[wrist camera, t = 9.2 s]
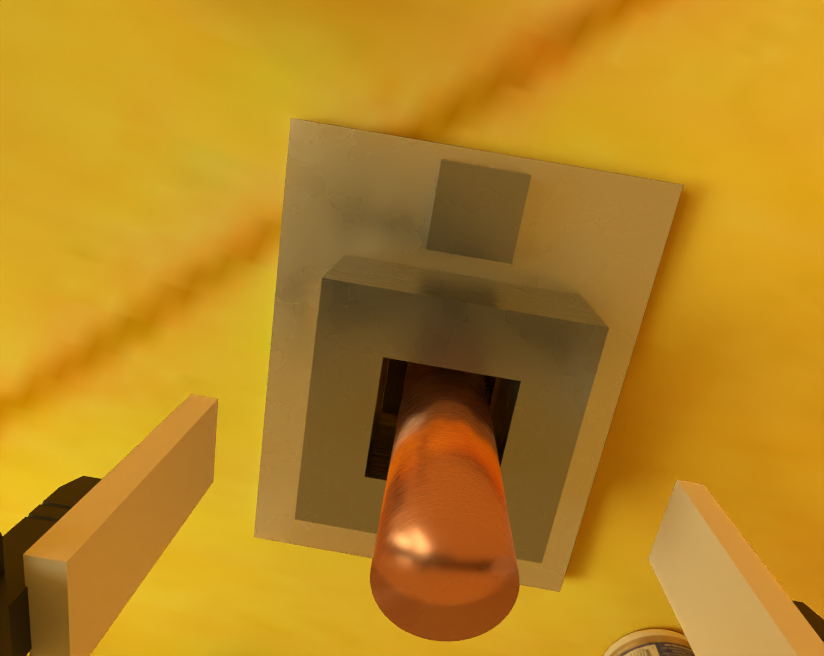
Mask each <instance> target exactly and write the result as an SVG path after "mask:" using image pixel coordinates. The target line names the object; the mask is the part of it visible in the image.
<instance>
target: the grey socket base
mask: <svg viewBox="0 0 824 656" xmlns="http://www.w3.org/2000/svg"><path fill="white" fill-rule="evenodd" d="M682 188H683V185H682V184H676V183H670V182H664V181H658V180H652V179H646V178H640V177H635V176H629V175H623V174H617V173H611V172H605V171H599V170H593V169H588V168H582V167H576V166H570V165H564V164H558V163H552V162H546V161H540V160H535V159H529V158H523V157H517V156H511V155H505V154H499V153H493V152H488V151H482V150H476V149H470V148H464V147H458V146H452V145H446V144H440V143H435V142H429V141H423V140H417V139H411V138H405V137H399V136H393V135H387V134H382V133H376V132H370V131H364V130H358V129H352V128H346V127H340V126H335V125H329V124H323V123H317V122H311V121H305V120H299V119H293V118H291V123H290V134H289V145H288V157H287V168H286V179H285V191H284V202H283V213H282V225H281V236H280V248H279V259H278V270H277V282H276V293H275V304H274V316H273V327H272V338H271V350H270V361H269V372H268V384H267V395H266V406H265V418H264V429H263V440H262V452H261V463H260V474H259V486H258V497H257V508H256V520H255V531H254V537H256V538H262V539H267V540H273V541H279V542H284V543H290V544H295V545H301V546H307V547H312V548H318V549H323V550H329V551H335V552H340V553H346V554H351V555H357V556H362V557H368V558H373V555H374V549H375V543H376V538H377V532H378V526H379V521H380V515H381V510H382V504H383V498H384V493H385V487H386V482H387V476H388V470H389V465H390V459H391V454H392V448H393V442H394V437H395V431H396V426H397V420H398V415H393V414H387V413H382V412H381V411H382V404H383V398H384V392H385V386H386V379H387V373H388V367H389V361H390V358H391V359H397V360H402V361H408V362H414V363H420V364H425V365H431V366H437V367H442V368H448V369H454V370H460V371H465V372H471V373H477V374H483V375H488V376H494V377H496V381H495V385H494V389H493V394H492V398H491V403H490V407H489V408H490V413H491V419H492V425H493V430H494V436H495V442H496V447H497V453H498V459H499V464H500V470H501V476H502V481H503V487H504V492H505V498H506V504H507V509H508V515H509V521H510V526H511V532H512V538H513V543H514V549H515V554H516V560H517V566H518V572H519V579H520V580H519V585H525V586H530V587H536V588H541V589H547V590H552V591H558V592H560V590H561V586H562V583H563V580H564V577H565V573H566V570H567V567H568V563H569V560H570V557H571V554H572V550H573V547H574V544H575V540H576V537H577V534H578V530H579V527H580V524H581V521H582V517H583V514H584V511H585V507H586V504H587V501H588V498H589V494H590V491H591V488H592V484H593V481H594V478H595V475H596V471H597V468H598V465H599V461H600V458H601V455H602V451H603V448H604V445H605V442H606V438H607V435H608V432H609V428H610V425H611V422H612V419H613V415H614V412H615V409H616V405H617V402H618V399H619V396H620V392H621V389H622V386H623V382H624V379H625V376H626V372H627V369H628V366H629V363H630V359H631V356H632V353H633V349H634V346H635V343H636V340H637V336H638V333H639V330H640V326H641V323H642V320H643V317H644V313H645V310H646V307H647V303H648V300H649V297H650V293H651V290H652V287H653V284H654V280H655V277H656V274H657V270H658V267H659V264H660V261H661V257H662V254H663V251H664V247H665V244H666V241H667V238H668V234H669V231H670V228H671V224H672V221H673V218H674V214H675V211H676V208H677V205H678V201H679V198H680V195H681V191H682Z"/></svg>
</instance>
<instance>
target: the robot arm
mask: <svg viewBox="0 0 824 656" xmlns="http://www.w3.org/2000/svg"><path fill="white" fill-rule="evenodd" d="M217 409H218V399H217V398H211V397H206V396H200V395H194V394H191V395H190V396H189V397H188V398H187V399H186V400H185V401H184V402H183V403H182V404H181V405H180V406H179V407H177V408H176V409H175V410H174V411H173V412H172V413H171V414H170V415H169V416H168V417H167V418H166V419H165V420H164V421H163V422H162V423H161V424H160V425H159V426H157V427H156V428H155V429H154V430H153V431H152V432H151V433H150V434H149V435H148V436H147V437H146V438H145V439H144V440H143V441H142V442H141V443H140V444H139V445H138V446H136V447H135V448H134V449H133V450H132V451H131V452H130V453H129V454H128V455H127V456H126V457H125V458H124V459H123V460H122V461H121V462H120V463H119V464H118V465H116V466H115V467H114V468H113V469H112V470H111V471H110V472H109V473H108V474H107V475H106V476H105V477H104V478H103V479H98V478H93V477H87V476H82V477H80V478H78V479H76V480H73V481H71V482H69V483H67V484H65V485H63V486H61V487H59V488H58V489H57V490H56V491H55V492H54V493H52V494H51V495H50V496H49V497H48V498H47V499H46V500H44V501H43V504H42V505H39V506H37V507H36V508H35V509H34V510H33V511H32V512H31V513H29V516H28V517H25V518H24V519H22V520H21V521H20V522H19V523H18V524H17V525H16V526H14V527H13V528H12V529H11V530H10V531H9V532H8V533H6V534H5V535H4V536H3V537H2V534H1V533H0V656H26V655H27V654H28V652H29V651H30V656H90V655H91V653H92V652H93V650H94V649H95V647H96V646H97V645H98V643H99V642H100V640H101V639H102V638H103V636H104V635H105V633H106V632H107V631H108V629H109V628H110V626H111V625H112V624H113V622H114V621H115V619H116V618H117V617H118V615H119V614H120V612H121V611H122V609H123V608H124V607H125V605H126V604H127V602H128V601H129V600H130V598H131V597H132V595H133V594H134V593H135V591H136V590H137V588H138V587H139V586H140V584H141V583H142V581H143V580H144V578H145V577H146V576H147V574H148V573H149V571H150V570H151V569H152V567H153V566H154V564H155V563H156V562H157V560H158V559H159V557H160V556H161V555H162V553H163V552H164V550H165V549H166V547H167V546H168V545H169V543H170V542H171V540H172V539H173V538H174V536H175V535H176V533H177V532H178V531H179V529H180V528H181V526H182V525H183V524H184V522H185V521H186V519H187V518H188V516H189V515H190V514H191V512H192V511H193V509H194V508H195V507H196V505H197V504H198V502H199V501H200V500H201V498H202V497H203V495H204V494H205V493H206V491H207V490H208V488H209V487H210V485H211V484H212V483H213V477H214V460H215V443H216V426H217ZM648 559H649V561H650V564H651V566H652V568H653V570H654V572H655V574H656V576H657V578H658V580H659V582H660V584H661V586H662V588H663V590H664V593H665V595H666V597H667V599H668V601H669V603H670V605H671V607H672V609H673V611H674V613H675V615H676V617H677V619H678V621H679V624H680V626H681V628H682V630H683V632H684V634H685V636H686V638H687V640H688V642H689V644H690V646H691V648H692V650H693V653H694V655H695V656H824V620H823V619H822V618H821V617H820V616H818V615H817V614H816V613H815V612H814V611H812V610H811V609H810V608H809V607H808V606H806V605H805V604H804V603H803V602H797V601H792V600H791V599H790V598H789V596H788V595H787V594H786V592H785V591H784V590H783V588H782V587H781V586H780V584H779V583H778V582H777V580H776V579H775V578H774V576H773V575H772V574H771V573H770V571H769V570H768V569H767V567H766V566H765V565H764V563H763V562H762V561H761V559H760V558H759V557H758V555H757V554H756V553H755V551H754V550H753V549H752V547H751V546H750V545H749V543H748V542H747V541H746V539H745V538H744V537H743V535H742V534H741V533H740V532H739V530H738V529H737V528H736V526H735V525H734V524H733V522H732V521H731V520H730V518H729V517H728V516H727V514H726V513H725V512H724V510H723V509H722V508H721V506H720V505H719V504H718V502H717V501H716V500H715V498H714V497H713V496H712V494H711V493H710V492H709V491H708V489H707V488H706V487H705V485H704V484H700V483H694V482H689V481H683V480H676V483H675V486H674V488H673V491H672V494H671V497H670V500H669V502H668V505H667V508H666V511H665V514H664V516H663V519H662V522H661V525H660V528H659V530H658V533H657V536H656V539H655V542H654V544H653V547H652V550H651V553H650V556H649V558H648Z"/></svg>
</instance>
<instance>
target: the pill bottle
mask: <svg viewBox="0 0 824 656" xmlns="http://www.w3.org/2000/svg"><path fill="white" fill-rule="evenodd" d="M604 656H695V655H694V653H693V650H692V648H691V646H690V644H689V642H688V640H687V638H686V636H684V635H682V634H680V633H677V632H674V631H670V630H665V629H646V630H640V631H636V632H633V633H630V634H628V635H626V636H624V637H622V638H620V639H619V640H617V641H616V642H615V643H613V644H612V645H611V646H610V647H609V648H608V650H607V651H606V652H605V654H604Z"/></svg>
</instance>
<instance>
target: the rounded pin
mask: <svg viewBox="0 0 824 656" xmlns="http://www.w3.org/2000/svg"><path fill="white" fill-rule="evenodd" d="M519 580H520V579H519V572H518V566H517V560H516V554H515V549H514V543H513V538H512V532H511V526H510V521H509V515H508V509H507V504H506V498H505V492H504V487H503V481H502V476H501V470H500V464H499V459H498V453H497V447H496V442H495V436H494V430H493V425H492V419H491V413H490V408H489V402H488V397H487V391H486V385H485V380H484V375H483V374H477V373H471V372H465V371H460V370H454V369H448V368H442V367H437V366H431V365H425V364H420V363H414V362H408V365H407V369H406V375H405V381H404V386H403V392H402V398H401V403H400V409H399V414H398V420H397V426H396V431H395V437H394V442H393V448H392V454H391V459H390V465H389V470H388V476H387V482H386V487H385V493H384V498H383V504H382V510H381V515H380V521H379V526H378V532H377V538H376V543H375V549H374V555H373V560H372V566H371V573H370V583H371V589H372V593H373V596H374V598H375V601H376V603H377V604H378V606H379V608H380V609H381V611H382V612H383V613H384V615H385V616H386V617H387V618H388V619H389V620H390V621H392V622H393V623H394V624H395V625H397V626H398V627H400V628H401V629H403V630H404V631H406V632H408V633H411V634H413V635H415V636H418V637H421V638H425V639H429V640H435V641H460V640H465V639H470V638H473V637H476V636H479V635H481V634H483V633H486V632H487V631H489V630H491V629H492V628H494V627H495V626H496V625H498V624H499V623H500V622H501V621H502V620H503V619H504V618H505V617H506V616H507V615H508V614H509V612H510V611H511V609H512V607H513V606H514V604H515V602H516V599H517V596H518V591H519Z"/></svg>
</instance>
